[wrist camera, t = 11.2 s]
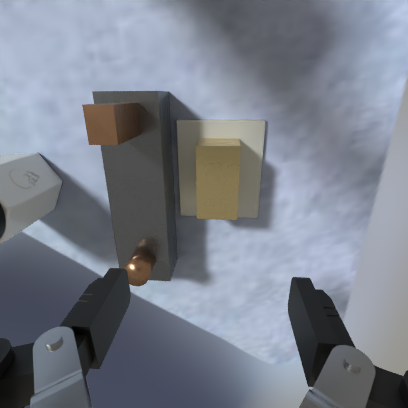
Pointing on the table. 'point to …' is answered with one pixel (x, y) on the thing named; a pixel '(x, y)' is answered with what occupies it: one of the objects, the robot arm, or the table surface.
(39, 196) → the jar
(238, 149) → the lever cap
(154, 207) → the body
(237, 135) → the felt mat
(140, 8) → the table surface
